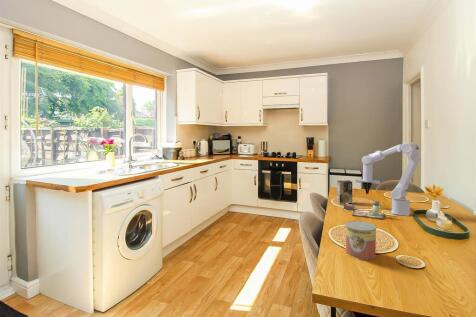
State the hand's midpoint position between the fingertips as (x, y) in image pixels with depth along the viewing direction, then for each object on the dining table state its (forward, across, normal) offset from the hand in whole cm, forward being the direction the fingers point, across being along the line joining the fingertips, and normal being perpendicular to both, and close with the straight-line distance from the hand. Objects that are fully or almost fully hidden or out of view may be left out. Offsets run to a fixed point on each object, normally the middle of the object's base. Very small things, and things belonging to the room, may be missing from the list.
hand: (367, 193), depth 176 cm
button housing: (+9, -10, -9) cm, 16 cm away
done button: (+8, -10, -9) cm, 16 cm away
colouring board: (+9, +2, -18) cm, 20 cm away
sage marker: (+8, +6, -19) cm, 22 cm away
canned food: (+10, +3, -77) cm, 78 cm away
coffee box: (+10, -15, +6) cm, 19 cm away
